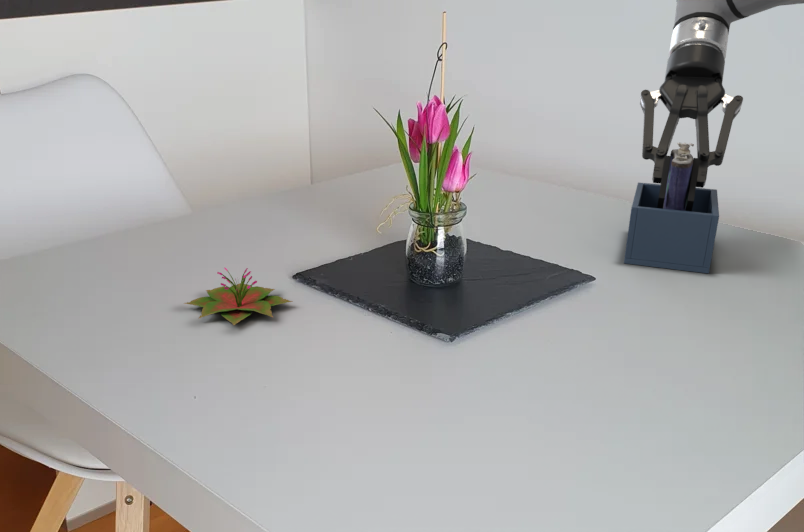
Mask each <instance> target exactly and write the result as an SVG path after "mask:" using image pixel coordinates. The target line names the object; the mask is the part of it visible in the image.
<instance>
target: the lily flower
mask: <svg viewBox="0 0 804 532" xmlns="http://www.w3.org/2000/svg"><path fill="white" fill-rule="evenodd" d="M223 269H224V270H225V271H226V272H227V273H228V274H229V276H230V278H231V279H230V278H229V277H227V276H226V275H224V274H223V273H222V272H219V271H217V274H218V275H220V276H221V279H223V280H226V281H227V282H228V283H229V284H230V286H228V285H227V284H225V283H223V282H221V283H220V286H219V287H215V288H212V289H205V291H206V293H207V295H208V296H200V297H197V298H195V299H192V300H191V301H187V302H184V303H183V304H184V305H190V306H195V307H199V308H200V307H201V308H202V309H201V312H200V313H201V315H199V317H198V320H199V319H201V318H204V317H208V316H209V315H213V314H217V313H220V315H221V317H223V318H224V319H225V320H227V321H228V322H229V323H231V324H232V326H236V325H237V324H238V323H240V322H241V321H243V320H245V319H246V318H247V317H249V316H251V315H252V314H253V312H256V313H259V314H262V315H265V316H268V317H270V318H274V316H273V313H272V307H274V306H278V305H282V304H287V303H292V302H294V301H293V300H289V299H287V298H283V296H279V295H270V294H271V293H272V292H273V291H274V290H276V288H270V287H264V286H258V285H257V286H253V285H255V284H257V283H258V280H254V281H253V282H252V283H251V284H248V283H249V282H250V281H251V280H252V278H253V276H252V275H250V274H251V273H252V271H248V270H249V268H248V267H246V268H245V270H244V271H243V274H242V275H241V281H240V282H238V280H237V278H233V277H232V276H233V275H232V274H231V273H230V272H229V270H228V268H226V267H224V268H223ZM247 271H248V272H247ZM249 275H250V277H249V278H248V280H247V282H246V279H247V277H248V276H249ZM245 282H246V283H245Z"/></svg>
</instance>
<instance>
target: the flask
mask: <svg viewBox="0 0 804 532" xmlns="http://www.w3.org/2000/svg"><path fill="white" fill-rule="evenodd" d="M677 145H678V148H677V149H675V148H673V149H672V150H671V151H670V154H669V156H671V160H670V167H669V173H668V180H667V186H666V193H665V200H664V206H663V209H670V210H680V211H685V210H686V203H687V196H688V190H689V184H690V178H691V172H692V166H693V159H694V156H693V155H692V153H691V149H690V147H694V146H695V144H694V143H691V142H689V143H687V142H684V143H682V142H677Z"/></svg>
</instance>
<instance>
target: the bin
mask: <svg viewBox="0 0 804 532" xmlns="http://www.w3.org/2000/svg"><path fill="white" fill-rule="evenodd" d="M660 186H661V184H660V183H648V182H637V184H636V188H635V193H634V196H633V200H632V204H631V209H630V215H629V222H628V223H629V224H628V231H627V238H626V245H625V250H624V258H623V264H626V265H635V266H642V267H652V268H658V269H659V268H660V269H667V270H668V269H669V270H675V271H684V272H692V273H699V274H709V273H710V268H711V264H712V259H713V253H714V247H715V242H716V236H717V232H718V231H717V230H718V225H719V219H720V211H719V198H718V189H715V188H705V187H703V188H701V187H696V190H695V197H694V203H693V208H692V212H691V211H686V210H685V211H680V210H670V209H662V208H657V205H658V199H659V192H660ZM687 197H688V196H687ZM686 204H687V203H686Z"/></svg>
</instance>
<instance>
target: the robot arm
mask: <svg viewBox="0 0 804 532" xmlns="http://www.w3.org/2000/svg"><path fill="white" fill-rule="evenodd" d="M802 4H804V0H676V7H675V16H674V23H673V27H672V33H671V36H670V37H671V38H670V44H669V50H668V59H667V62H666V68H665V69H666V70H665V75H664V81H663V83H662V84H661V85H660V86H659V89H656V90H653V91H650V90H649V89H643V90H641V93H640V102H639V105H640V108H641V110H642V113H643V129H642V149H641V150H642V152H641V157H642V159H643V160H650V161H652V162H653V164H654V166H653V170H652V171H653V172H652V178H651V180H652V184H661V186H660V192H659V199H658V205H657V208H662V209H663V206H664V200H665V193H666V186H667V180H668V173H669V167H670V160H671V156H670V155H668V152H669V150H670V147H671V144H672V141H673V138H674V135H675V132H676V130H677V126H678V124H679V122H680V119H686V118H687V119H688V118H689V119H691V120H694V123H695V133H696V134H695V135H696V136H695V137H696V157H693V166H692V172H691V178H690V184H689V190H688V197H687V204H686V211H691V212H692V208H693V203H694V197H695V190H696V188H705V185H706V182H707V177H708V171H709V167H711V166H717V167H719V166H721V165H722V164H723V161H724V157H725V153H726V149H727V146H728V142H729V138H730V134H731V130H732V126H733V121H734V119H735V118H736V117H737V115H738V114H740V112H741V108H742V105H743V102H744V97H743V96H742V95H739V94H738V95H735V96H732V95H729V94H726V89H725V88H724V86H723V82H724V81H723V80H724V74H725V73H724V72H725V65H726V57H727V49H728V41H729V35H730V28H731V24H732V23H734V22H737V21H740V20H743V19H746V18H749V17H750V16H754V15H756V14H759V13H761V12H766V11H768V10H771V9H774V8H776V7H781V6H790V5H791V6H792V5H802ZM659 100H660V101H661V102H662V104H663V105H664V107H665V108H666V109H667V111H668V112H669V113H668V117H667V119H666V122H665V125H664V128H663V131H662V134H661V136H660V140H659V143H658V146H657V147H656V146H654V127H655V126H654V124H655V121H654V120H655V108H657V106H658V103H659ZM720 104H721V105H722V106H721V111H722V112H723V114H724V115H723V117H722V118H723V119H722V122H721V126H720V130H719V134H718V138H717V142H716V145H715V150H713V151H710V133H709V114H710V113H711V112H712V111H713V110H714V109H716V108H717V107H718V106H719V105H720Z"/></svg>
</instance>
